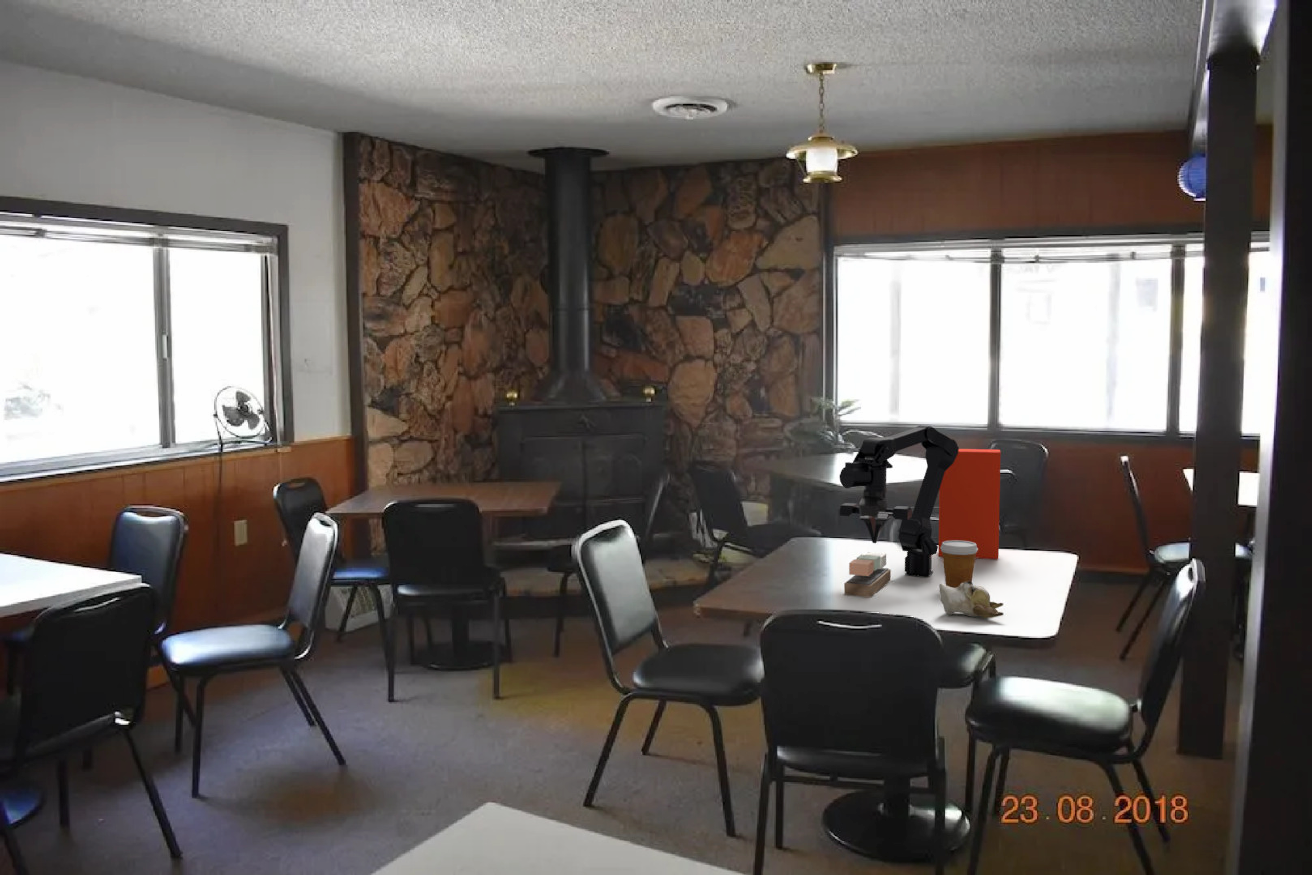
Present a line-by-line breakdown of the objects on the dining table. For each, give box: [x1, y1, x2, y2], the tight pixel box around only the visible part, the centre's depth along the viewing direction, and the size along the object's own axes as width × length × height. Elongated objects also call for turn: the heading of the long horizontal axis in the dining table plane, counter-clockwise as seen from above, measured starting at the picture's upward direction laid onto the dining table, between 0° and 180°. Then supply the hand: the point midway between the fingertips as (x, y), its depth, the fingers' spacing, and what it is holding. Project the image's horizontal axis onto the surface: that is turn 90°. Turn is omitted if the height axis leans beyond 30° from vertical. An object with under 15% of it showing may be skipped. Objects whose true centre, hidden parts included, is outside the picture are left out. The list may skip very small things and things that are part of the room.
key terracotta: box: [848, 558, 873, 576], centre depth 278 cm, size 5×5×3 cm
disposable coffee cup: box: [940, 540, 978, 588], centre depth 282 cm, size 10×10×12 cm
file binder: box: [937, 448, 1002, 560], centre depth 324 cm, size 8×17×32 cm, turn 74°
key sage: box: [856, 553, 880, 571], centre depth 284 cm, size 5×5×3 cm
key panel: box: [843, 567, 892, 598], centre depth 285 cm, size 7×21×3 cm, turn 154°
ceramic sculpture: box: [938, 580, 1004, 619], centre depth 255 cm, size 11×9×15 cm
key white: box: [864, 551, 887, 568], centre depth 291 cm, size 5×5×3 cm
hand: (874, 542), depth 290 cm, fingers closed
